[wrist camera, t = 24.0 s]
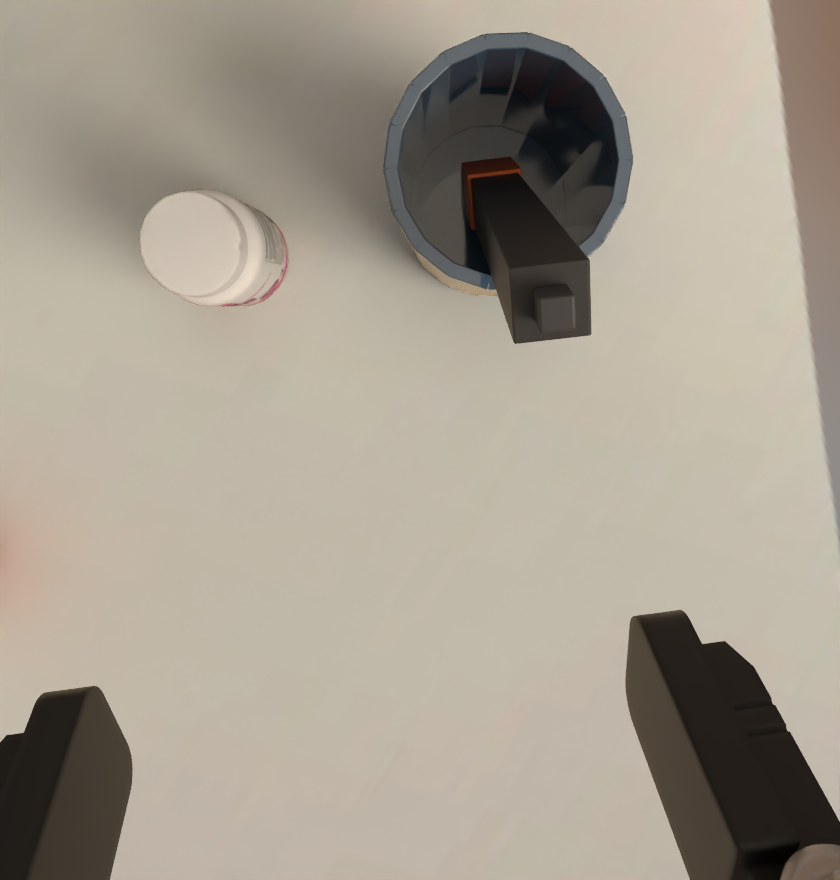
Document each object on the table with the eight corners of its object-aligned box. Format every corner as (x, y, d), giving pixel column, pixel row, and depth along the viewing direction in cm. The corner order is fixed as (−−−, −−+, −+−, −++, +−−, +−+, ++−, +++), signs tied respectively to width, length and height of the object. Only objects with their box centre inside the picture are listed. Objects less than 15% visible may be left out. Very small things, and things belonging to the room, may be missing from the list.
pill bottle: (217, 321, 40) (157, 325, 31) (178, 229, 39) (106, 208, 31) (305, 285, 39) (268, 278, 31) (267, 192, 39) (219, 159, 30)
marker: (606, 353, 20) (604, 261, 19) (512, 364, 20) (505, 273, 19) (514, 207, 38) (511, 156, 37) (466, 213, 38) (461, 162, 37)
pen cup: (391, 283, 39) (369, 271, 27) (415, 106, 38) (403, 13, 26) (556, 307, 39) (606, 307, 27) (587, 131, 38) (653, 50, 26)
